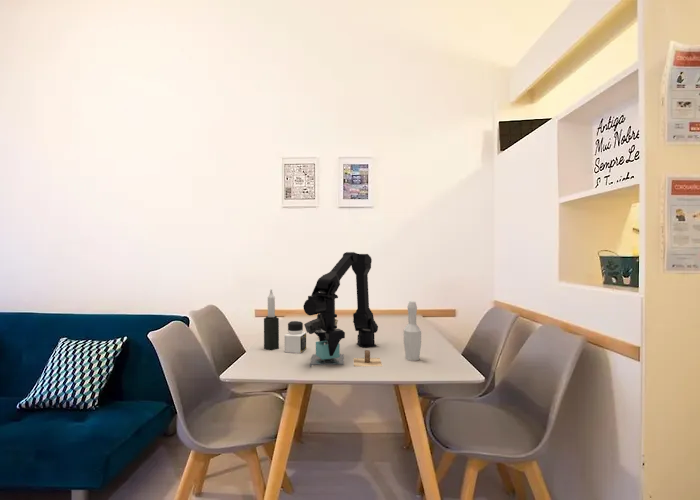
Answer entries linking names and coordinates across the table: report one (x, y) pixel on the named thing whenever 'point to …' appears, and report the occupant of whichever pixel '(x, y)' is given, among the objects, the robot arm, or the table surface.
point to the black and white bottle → (271, 326)
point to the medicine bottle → (295, 338)
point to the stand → (367, 360)
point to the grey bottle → (412, 334)
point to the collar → (326, 351)
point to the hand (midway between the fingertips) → (327, 353)
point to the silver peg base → (327, 360)
